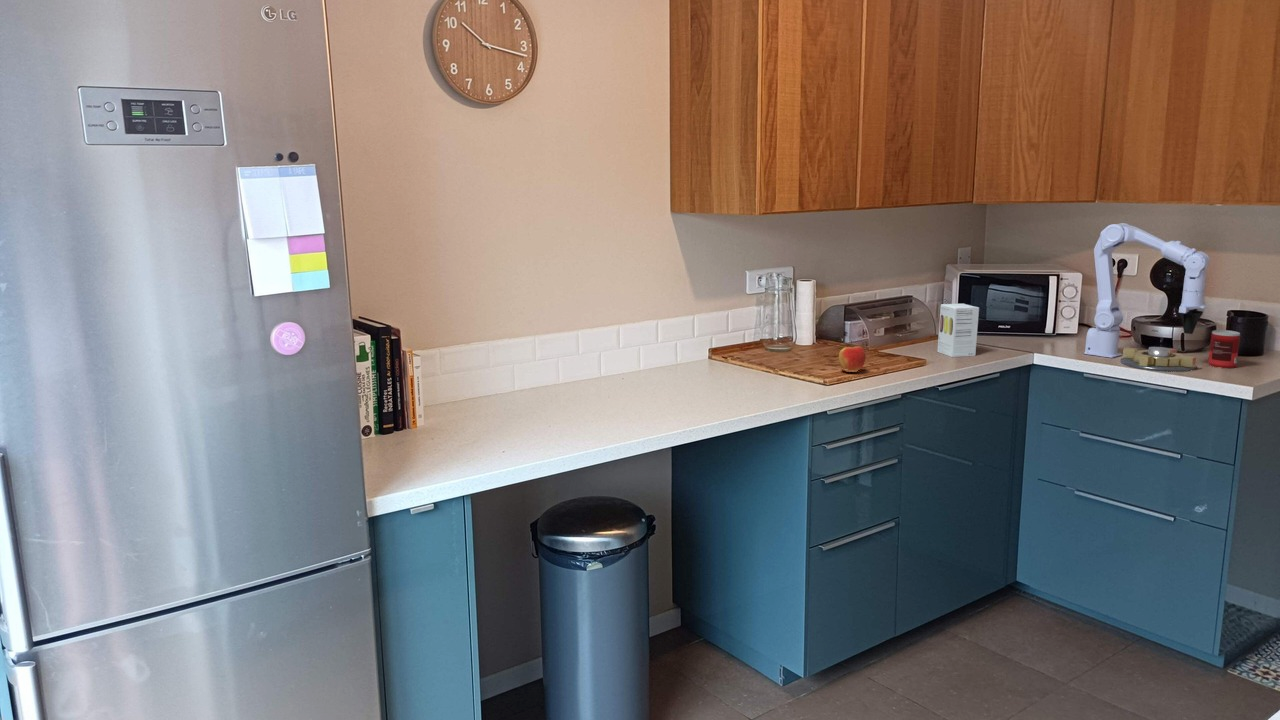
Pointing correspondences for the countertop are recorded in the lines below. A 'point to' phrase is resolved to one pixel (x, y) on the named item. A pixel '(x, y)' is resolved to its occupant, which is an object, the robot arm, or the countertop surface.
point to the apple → (852, 358)
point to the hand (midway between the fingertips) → (1188, 333)
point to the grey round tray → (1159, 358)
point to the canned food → (1224, 348)
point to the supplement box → (958, 330)
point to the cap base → (1156, 353)
